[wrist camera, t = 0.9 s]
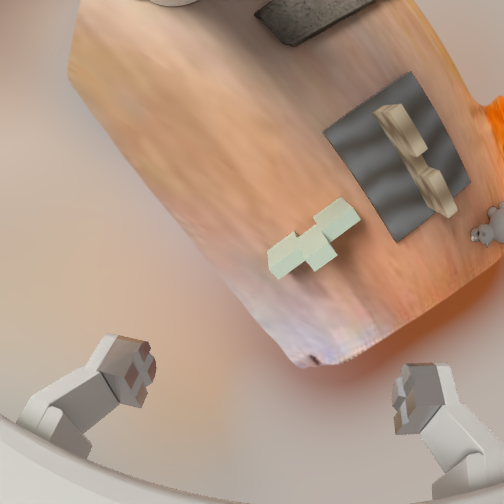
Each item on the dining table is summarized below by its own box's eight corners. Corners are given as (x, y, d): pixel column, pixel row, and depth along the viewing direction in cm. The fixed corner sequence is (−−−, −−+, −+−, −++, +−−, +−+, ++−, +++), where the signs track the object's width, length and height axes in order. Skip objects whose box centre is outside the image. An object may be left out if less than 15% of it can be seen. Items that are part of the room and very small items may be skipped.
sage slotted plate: (275, 260, 58) (280, 295, 47) (266, 251, 58) (270, 284, 46) (347, 207, 54) (371, 230, 43) (340, 196, 54) (363, 216, 42)
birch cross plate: (322, 131, 50) (335, 133, 41) (407, 72, 45) (432, 66, 37) (393, 239, 57) (414, 258, 48) (466, 180, 52) (493, 191, 44)
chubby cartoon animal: (461, 213, 57) (471, 233, 51) (507, 195, 51) (521, 212, 44) (469, 241, 59) (478, 262, 53) (513, 223, 53) (526, 243, 46)
